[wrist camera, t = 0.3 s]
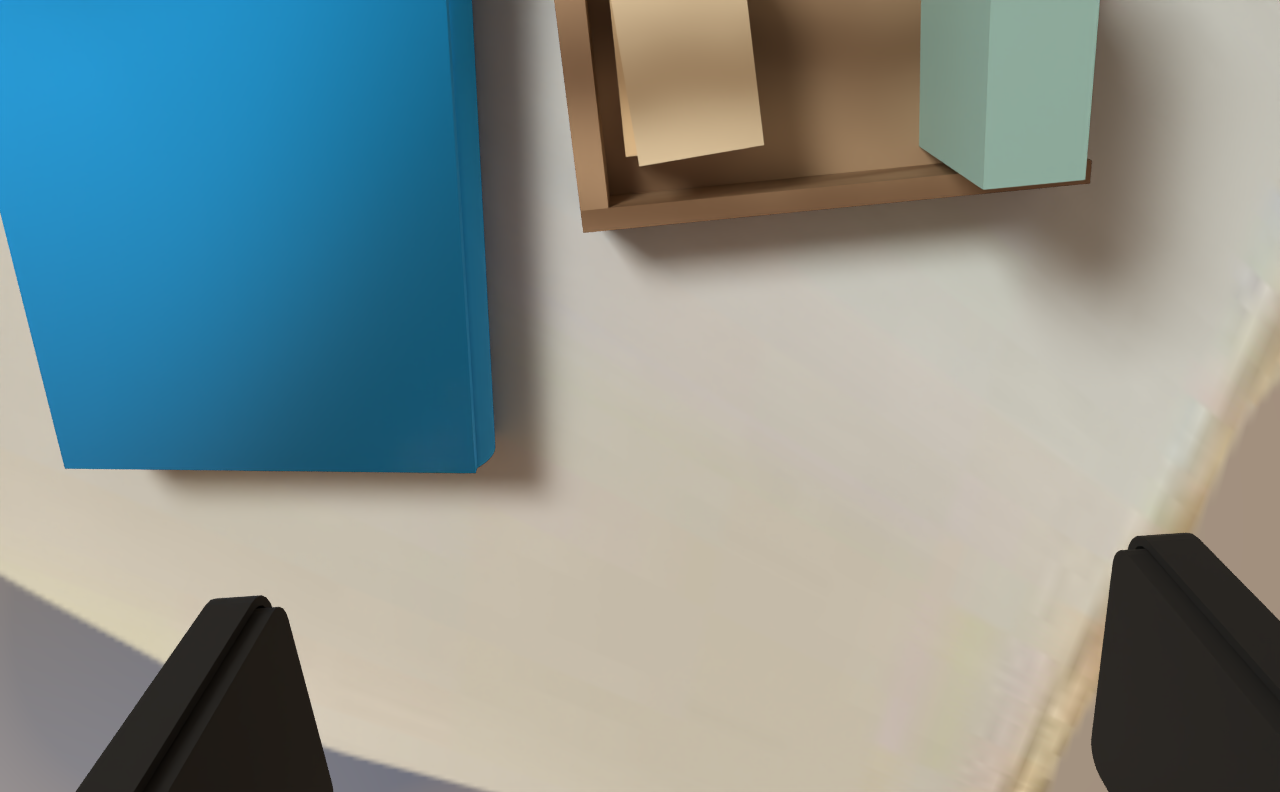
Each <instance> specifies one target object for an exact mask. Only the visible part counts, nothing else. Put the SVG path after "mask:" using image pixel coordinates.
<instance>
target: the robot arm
mask: <svg viewBox="0 0 1280 792" xmlns="http://www.w3.org/2000/svg"><path fill="white" fill-rule="evenodd" d="M1091 746H1092V754H1093V759H1094V763H1095V766H1096V769H1097V771H1098V773H1099V775H1100V777H1101V779H1102V781H1103V783H1104V785H1105V786H1106V788H1107V790H1108V791H1109V792H1280V621H1279V620H1278V619H1277V618H1276V617H1275V616H1274V615H1273V614H1272V613H1271V612H1270V611H1269V610H1268V609H1267V608H1266V606H1265V605H1264V604H1263V603H1262V602H1261V601H1259V599H1258V598H1257V597H1256V596H1255V595H1254V594H1253V593H1252V592H1251V591H1250V590H1249V589H1248V588H1247V587H1246V586H1245V585H1244V584H1243V583H1242V582H1241V581H1240V580H1239V579H1238V578H1237V577H1236V576H1235V575H1234V574H1233V573H1232V572H1231V571H1230V570H1229V569H1228V568H1227V567H1226V566H1225V565H1224V564H1223V563H1222V562H1221V561H1220V560H1219V559H1218V558H1217V557H1216V556H1215V555H1214V554H1213V553H1212V551H1210V550H1209V548H1208V547H1207V546H1206V545H1204V544H1203V542H1201V540H1200V539H1199V538H1197V537H1196V536H1195V535H1193V534H1191V533H1176V534H1161V535H1146V536H1137V537H1135V538H1133V539H1132V541H1131V542H1130V544H1129V547H1128V550H1120V551H1118V552H1117V553H1116V555H1115V556H1114V560H1113V565H1112V573H1111V581H1110V590H1109V598H1108V606H1107V614H1106V622H1105V631H1104V639H1103V647H1102V655H1101V664H1100V672H1099V680H1098V688H1097V697H1096V705H1095V713H1094V722H1093V730H1092V739H1091ZM76 792H333V786H332V782H331V778H330V775H329V770H328V767H327V763H326V759H325V755H324V751H323V748H322V744H321V740H320V736H319V733H318V729H317V725H316V721H315V718H314V714H313V710H312V706H311V703H310V699H309V695H308V691H307V687H306V684H305V680H304V676H303V672H302V669H301V665H300V661H299V657H298V654H297V650H296V646H295V642H294V639H293V635H292V631H291V627H290V623H289V620H288V617H287V614H286V612H285V611H284V609H283V608H281V607H272V606H271V603H270V602H269V600H268V599H267V598H266V597H264V596H262V595H261V596H246V597H232V598H217V599H213V600H210V601H209V602H208V603H207V604H206V605H205V607H204V608H203V610H202V611H201V612H200V614H199V615H198V617H197V618H196V620H195V621H194V623H193V624H192V625H191V627H190V628H189V630H188V631H187V633H186V634H185V635H184V637H183V638H182V640H181V641H180V643H179V644H178V646H177V647H176V648H175V650H174V651H173V653H172V654H171V656H170V657H169V658H168V660H167V661H166V663H165V664H164V666H163V667H162V669H161V670H160V671H159V673H158V674H157V676H156V677H155V679H154V680H153V681H152V683H151V684H150V686H149V687H148V689H147V690H146V691H145V693H144V695H143V696H142V697H141V699H140V700H139V702H138V703H137V705H136V706H135V707H134V709H133V710H132V712H131V713H130V714H129V716H128V717H127V719H126V720H125V722H124V723H123V725H122V726H121V728H120V729H119V730H118V732H117V733H116V735H115V736H114V737H113V739H112V740H111V742H110V743H109V745H108V746H107V748H106V749H105V750H104V752H103V753H102V755H101V756H100V758H99V759H98V760H97V762H96V763H95V765H94V766H93V768H92V769H91V771H90V772H89V773H88V775H87V776H86V778H85V779H84V781H83V782H82V784H81V785H80V787H79V788H78V789H77V791H76Z"/></svg>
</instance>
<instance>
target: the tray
mask: <svg viewBox="0 0 1280 792" xmlns="http://www.w3.org/2000/svg"><path fill="white" fill-rule="evenodd" d="M554 2H555V10H556V18H557V26H558V34H559V42H560V50H561V58H562V66H563V74H564V82H565V90H566V98H567V106H568V114H569V122H570V130H571V138H572V146H573V154H574V162H575V170H576V178H577V186H578V194H579V202H580V210H581V218H582V226H583V233H586V232H596V231H606V230H617V229H627V228H637V227H647V226H658V225H668V224H678V223H689V222H699V221H709V220H719V219H730V218H740V217H750V216H760V215H771V214H781V213H791V212H801V211H812V210H822V209H832V208H842V207H853V206H863V205H873V204H883V203H894V202H904V201H914V200H924V199H935V198H945V197H955V196H965V195H976V194H986V193H996V192H1006V191H1017V190H1027V189H1037V188H1047V187H1058V186H1068V185H1078V184H1089V183H1090V177H1091V165H1092V160H1090V159H1087V164H1086V176H1085V180H1078V181H1068V182H1058V183H1047V184H1037V185H1027V186H1017V187H1006V188H996V189H986V190H983V189H981V188H980V187H978V186H977V185H975V184H974V183H972V182H971V181H970V180H968V179H967V178H965V177H964V176H962V175H961V174H959V173H958V172H956V171H955V170H953V169H952V168H950V167H949V166H947V165H946V164H945V163H943V162H942V161H940V160H939V159H937V158H936V157H934V156H933V155H931V154H930V153H928V152H927V151H925V150H924V149H922V148H921V147H920V146H919V113H920V40H921V0H747V5H748V13H749V21H750V30H751V38H752V47H753V55H754V64H755V72H756V81H757V89H758V98H759V106H760V114H761V123H762V131H763V140H764V145H761V146H755V147H750V148H744V149H738V150H732V151H726V152H720V153H715V154H709V155H703V156H697V157H691V158H686V159H680V160H674V161H668V162H662V163H656V164H651V165H645V166H639V162H638V156H629V157H626V154H625V144H624V135H623V125H622V116H621V106H620V96H619V87H618V77H617V68H616V58H615V48H614V39H613V29H612V20H611V10H610V0H554Z"/></svg>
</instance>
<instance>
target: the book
mask: <svg viewBox="0 0 1280 792" xmlns="http://www.w3.org/2000/svg"><path fill="white" fill-rule="evenodd" d="M0 213H1V217H2V221H3V225H4V229H5V233H6V237H7V241H8V245H9V249H10V253H11V257H12V261H13V265H14V269H15V273H16V277H17V281H18V285H19V289H20V293H21V297H22V301H23V305H24V308H25V312H26V316H27V320H28V324H29V328H30V332H31V336H32V340H33V344H34V348H35V352H36V356H37V360H38V364H39V368H40V372H41V376H42V380H43V384H44V388H45V392H46V396H47V400H48V404H49V408H50V412H51V415H52V419H53V423H54V427H55V431H56V435H57V439H58V443H59V447H60V451H61V455H62V459H63V463H64V467H65V469H149V470H236V471H322V472H409V473H476V470H477V468H478V467H480V466H481V465H483V464H484V463H486V462H487V461H488V460H489V459H490V458H491V457H492V455H493V454H494V451H495V431H494V412H493V392H492V373H491V354H490V335H489V316H488V297H487V278H486V259H485V240H484V221H483V202H482V183H481V164H480V145H479V126H478V107H477V87H476V68H475V49H474V30H473V11H472V0H0Z"/></svg>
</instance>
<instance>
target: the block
mask: <svg viewBox="0 0 1280 792" xmlns="http://www.w3.org/2000/svg"><path fill="white" fill-rule="evenodd" d="M1099 4H1100V0H921V40H920V113H919V146H920V147H921V148H922V149H924V150H925V151H927V152H928V153H930V154H931V155H933V156H934V157H936V158H937V159H939V160H940V161H942V162H943V163H945V164H946V165H947V166H949V167H950V168H952V169H953V170H955V171H956V172H958V173H959V174H961V175H962V176H964V177H965V178H967V179H968V180H970V181H971V182H972V183H974V184H975V185H977V186H978V187H980V188H981V189H983V190H986V189H996V188H1006V187H1017V186H1027V185H1037V184H1047V183H1058V182H1068V181H1078V180H1085V176H1086V164H1087V152H1088V139H1089V127H1090V115H1091V102H1092V90H1093V78H1094V65H1095V53H1096V41H1097V28H1098V16H1099Z"/></svg>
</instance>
